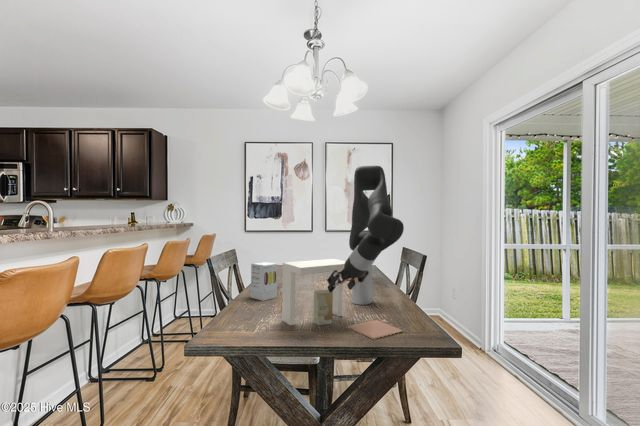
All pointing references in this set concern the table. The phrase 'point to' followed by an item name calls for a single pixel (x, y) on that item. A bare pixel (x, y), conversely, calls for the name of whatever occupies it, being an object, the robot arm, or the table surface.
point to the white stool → (303, 269)
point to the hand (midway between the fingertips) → (339, 288)
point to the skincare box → (323, 307)
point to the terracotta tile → (374, 329)
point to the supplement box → (264, 281)
